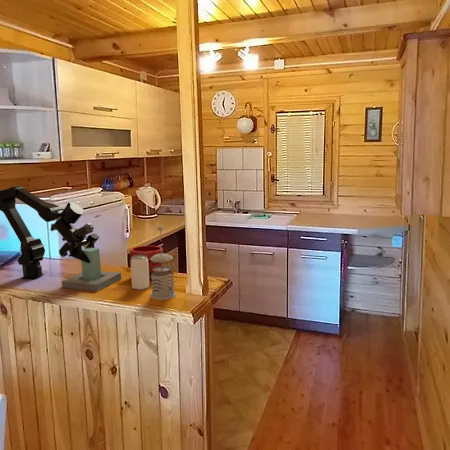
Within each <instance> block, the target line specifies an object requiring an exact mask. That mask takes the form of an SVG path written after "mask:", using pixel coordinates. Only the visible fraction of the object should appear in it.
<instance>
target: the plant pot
mask: <svg viewBox="0 0 450 450" xmlns="http://www.w3.org/2000/svg"><path fill="white" fill-rule="evenodd" d="M161 247H162V246H157V245H139V246H133V247H131V248H130V252H129V255H130V260H131V259H132V256H135V255H146V256H147V259H148V269H149V280H152V277H151V274H152V273H153V271H152V269H153V268H155V267H162V266H163V262H153V261H151V260H150V258H151V257H153V256H154V255H156V254H160V253H161ZM162 253H164V249H163V247H162Z"/></svg>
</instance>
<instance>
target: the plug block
mask: <svg viewBox="0 0 450 450" xmlns="http://www.w3.org/2000/svg"><path fill="white" fill-rule="evenodd" d="M82 251H83V252H84V253H85V254H86V256H87V257H88V258H89V260H90V263H86V262H84V261H82V260H80V262H81V272H82V276H83V280H92V281H95V280H97V279H99V278H101V271H102V270H101V257H100V255H101V254H100V252H101V251H100V248H98V247H97V248H96V247H95V248H86V249H85V248H84V249H83V248H82Z"/></svg>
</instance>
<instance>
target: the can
mask: <svg viewBox="0 0 450 450" xmlns="http://www.w3.org/2000/svg"><path fill="white" fill-rule="evenodd" d="M130 272H131V287H132V289H134V290H137V291H142V290H146V289H148V288H149V287H150V279H149V269H148V259H147V256H146V255H135V256H132V259H131V258H130Z"/></svg>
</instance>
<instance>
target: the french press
mask: <svg viewBox="0 0 450 450" xmlns="http://www.w3.org/2000/svg"><path fill="white" fill-rule="evenodd" d="M157 231H159V234H160V240H162V233H161V232H162V231H164V228H163V227H162V226H159V227H158V228H157ZM160 247H161V253H160V254H156V255H154V256H153V257H151V258H150V259H149V260H151V261H153V262H162V263H166V262H170V261H172V260H173V259H174V257H173V256H172V255H170V254H168V253H164V252H163V253H162V248H163V247H162V246H160ZM166 265H167V266H161V267H155V268H153V269H152V271H153V273H152V274H151V277H152V279H151V287H152V288H151V293H150V295H149V298H150V299H152V300H157V301H163V300H171V299H174V298H176V297H177V296H176V295H178V294H177V292H176V291H175V283H176V282H177V281H178V280H177V279H178V277H176V279H175V273H174V270H173V268H172V266H173V267H174V269H175V272H176V273H178V270H177V267H176V266H175V264H174V263H172V262H171V263H170V264H168V263H167V264H166Z"/></svg>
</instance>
